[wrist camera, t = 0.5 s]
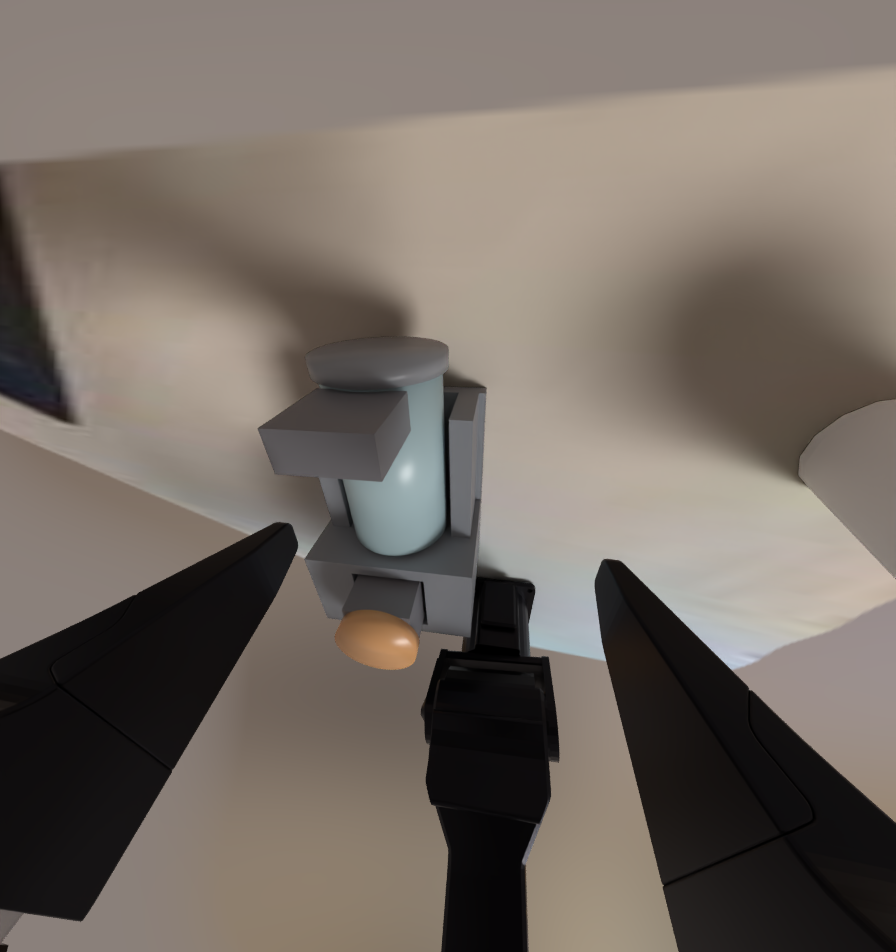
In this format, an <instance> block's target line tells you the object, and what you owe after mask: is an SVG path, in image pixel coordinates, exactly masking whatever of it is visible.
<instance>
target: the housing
mask: <svg viewBox="0 0 896 952" xmlns="http://www.w3.org/2000/svg"><path fill="white" fill-rule="evenodd" d="M486 389H487V388H472V387H443V395H444V429H445V463H446V498H447V526H446V529H445V531H444V533H443V534H442V536H441V537H440V538H439V539H438V540H437V541H436V542H435V543H434V544H432V545H431V546H429V547H428V548H426V549H424V550H421V551H419V552H416V553H412V554H408V555H402V556H388V555H382V554H378V553H375V552H373V551H371V550H369V549H367V548H366V547H365V546H363V545H362V544H361V542H360V541H359V540H358V538H357V535H356V531H355V527H354V523H353V519H352V515H351V511H350V507H349V503H348V499H347V495H346V491H345V487H344V483H343V479H334V478H321V477H319V480H320V483H321V487H322V490H323V493H324V497H325V500H326V503H327V507H328V510H329V513H330V517H331V521H330V522H329V524H328V525H327V527H326V528H325V530H324V531H323V533H322V534H321V535H320V537H319V538H318V540H317V541H316V543H315V544H314V546H313V547H312V549H311V550H310V552H309V553H308V555H307V556H306V558H305V559H304V560H305V562H306V565H307V567H308V570H309V572H310V575H311V578H312V580H313V583H314V585H315V588H316V590H317V592H318V595H319V598H320V600H321V602H322V605H323V607H324V610H325V613H326V615H327V617H328V618H332V619H339V620H342V619H343V617H344V616H343V613H342V608H343V606H344V604H345V602H346V600H347V598H348V595H349V593H350V591H351V589H352V587H353V585H354V583H355V581H356V579H357V576H358V574H361V575H370V576H378V577H387V578H396V579H404V580H413V581H422V582H424V592H425V602H426V611H425V615H424V620H423V624H422V628H421V631H426V632H433V633H441V634H448V635H455V636H463V637H470V635H471V624H472V614H473V604H474V593H475V583H476V573H477V562H478V552H479V536H480V515H481V494H482V473H483V452H484V431H485V410H486Z"/></svg>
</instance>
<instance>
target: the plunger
mask: <svg viewBox="0 0 896 952" xmlns="http://www.w3.org/2000/svg"><path fill="white" fill-rule="evenodd" d="M425 611H426V602H425V592H424V582H422V581H413V580H404V579H396V578H387V577H378V576H370V575H361V574H358V576H357V579H356V581H355V583H354V585H353V587H352V589H351V591H350V593H349V595H348V598H347V600H346V602H345V604H344V606H343V608H342V613H343V616H344V617H343V619H342V621H341V623H340V625H339V627H338V629H337V631H336V634H335V642H336V644H337V646H338V647H339V648H340V649H341V650H342V652H344V653H345V654H346V655H347V656H349V657H350V658H352V659H354V660H355V661H358V662H360V663H362V664H365V665H367V666H371V667H375V668H379V669H387V670H396V669H403V668H406V667H408V666H410V665H412V664H413V663H414V661H415V660H416V655H417V651H418V646H419V637H420V632H421V628H422V624H423V620H424V615H425Z"/></svg>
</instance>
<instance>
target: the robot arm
mask: <svg viewBox="0 0 896 952" xmlns="http://www.w3.org/2000/svg"><path fill="white" fill-rule="evenodd" d="M297 549H298V541H297V539H296V536H295V533H294V530H293V527H292V525H291V524H289V523H283V522H276V523H273V524H272V525H270V526H268V527H266V528H264V529H262V530H260V531H258V532H256V533H254V534H252V535H250V536H248V537H246V538H244V539H242V540H240V541H238V542H236V543H235V544H233V545H231V546H229V547H227V548H225V549H223V550H221V551H219V552H217V553H215V554H213V555H211V556H209V557H207V558H205V559H203V560H202V561H199V562H197V563H196V564H194V565H192V566H190V567H188V568H186V569H184V570H182V571H180V572H178V573H176V574H174V575H172V576H170V577H168V578H166V579H164V580H162V581H160V582H158V583H157V584H155V585H153V586H151V587H149V588H147V589H145V590H143V591H141V592H139V593H138V594H137V595H133V596H131V597H129V598H127V599H125V600H123V601H121V602H120V603H118V604H116V605H114V606H112V607H110V608H108V609H106V610H103V611H102V612H99V613H98V614H95V615H94V616H92V617H89V618H87V619H85V620H83V621H81V622H79V623H77V624H75V625H72V626H70V627H68V628H66V629H64V630H62V631H60V632H58V633H55V634H53V635H51V636H49V637H47V638H45V639H43V640H40V641H38V642H36V643H34V644H32V645H30V646H27V647H25V648H23V649H21V650H19V651H16V652H14V653H12V654H10V655H8V656H5V657H3V658H1V659H0V952H7V948H8V945H6V944H3V943H2V941H3V940H4V939H5V937H6V936H7V935H8V933H9V932H10V931H11V929H12V928H13V927H14V925H15V924H16V923H17V922H18V920H19V919H20V918H21V916H22V915H23V914H24V913H27V914H34V915H41V916H47V917H53V918H61V919H67V920H73V921H80V922H81V921H83V919H84V918H85V916H86V915H87V914H88V912H89V911H90V909H91V907H92V906H93V904H94V903H95V901H96V899H97V898H98V896H99V894H100V893H101V891H102V889H103V888H104V886H105V884H106V883H107V881H108V879H109V877H110V876H111V874H112V872H113V871H114V869H115V867H116V866H117V864H118V862H119V861H120V859H121V857H122V856H123V854H124V852H125V850H126V849H127V847H128V845H129V844H130V842H131V840H132V838H133V837H134V835H135V833H136V832H137V830H138V828H139V827H140V825H141V823H142V821H143V820H144V818H145V817H146V815H147V813H148V812H149V810H150V808H151V807H152V805H153V803H154V801H155V800H156V798H157V796H158V795H159V793H160V791H161V790H162V788H163V786H164V785H165V783H166V781H167V779H168V778H169V776H170V774H171V773H172V769H174V767H175V766H176V764H177V762H178V761H179V759H180V757H181V755H182V754H183V752H184V750H185V748H186V747H187V745H188V744H189V742H190V740H191V739H192V737H193V735H194V733H195V732H196V730H197V728H198V727H199V725H200V723H201V722H202V720H203V718H204V717H205V715H206V713H207V712H208V710H209V708H210V707H211V705H212V703H213V701H214V700H215V698H216V696H217V695H218V693H219V691H220V689H221V688H222V686H223V684H224V683H225V681H226V679H227V678H228V676H229V674H230V672H231V671H232V669H233V668H234V666H235V664H236V663H237V661H238V659H239V657H240V656H241V654H242V652H243V651H244V649H245V647H246V646H247V644H248V642H249V641H250V639H251V637H252V636H253V634H254V632H255V630H256V629H257V627H258V625H259V624H260V622H261V620H262V619H263V617H264V615H265V613H266V612H267V610H268V609H269V607H270V605H271V603H272V602H273V600H274V598H275V596H276V594H277V592H278V590H279V588H280V586H281V584H282V582H283V579H284V578H285V576H286V573H287V571H288V569H289V567H290V564H291V563H292V560H293V558H294V556H295V554H296V552H297ZM595 594H596V601H597V609H598V616H599V624H600V632H601V638H602V644H603V649H604V653H605V657H606V661H607V665H608V669H609V673H610V677H611V681H612V685H613V689H614V693H615V697H616V701H617V705H618V710H619V713H620V718H621V722H622V726H623V729H624V734H625V738H626V742H627V745H628V749H629V754H630V758H631V761H632V766H633V770H634V774H635V778H636V782H637V786H638V790H639V793H640V798H641V802H642V806H643V809H644V814H645V817H646V821H647V826H648V829H649V833H650V837H651V842H652V845H653V849H654V854H655V858H656V861H657V866H658V870H659V874H660V878H661V882H662V884H663V885H664V886H663V891H664V895H665V899H666V903H667V907H668V911H669V915H670V919H671V923H672V927H673V931H674V935H675V939H676V943H677V947H678V951H679V952H896V823H895V822H894V821H893V820H892V819H891V818H890V817H889V816H888V815H886V814H885V813H884V812H883V811H882V810H881V809H880V808H878V807H877V806H876V805H875V804H874V803H873V802H872V801H871V800H869V799H868V798H867V797H866V796H865V795H864V794H863V793H862V792H860V791H859V790H858V789H857V788H856V787H855V786H854V785H853V784H851V783H850V782H849V781H848V780H847V779H846V778H845V777H843V776H842V775H841V774H840V773H839V772H838V771H837V770H836V769H835V768H834V767H833V766H831V765H830V764H829V763H828V762H827V761H826V760H825V759H824V758H823V757H822V756H820V755H819V754H818V753H817V752H816V751H815V750H813V748H812V747H811V746H809V745H808V744H807V743H806V742H805V741H804V740H803V739H802V738H801V737H800V736H799V735H798V734H797V733H796V732H794V731H793V730H792V729H791V728H790V727H789V726H788V725H787V724H786V723H785V722H784V721H783V720H782V719H781V718H780V717H779V716H778V715H777V714H776V713H775V712H773V710H772V709H771V708H770V707H768V706H767V705H766V704H765V703H764V702H763V701H762V700H761V699H760V698H759V697H758V696H757V695H756V694H755V693H754V692H753V691H752V690H749V688H748V686H747V685H746V684H745V683H744V682H743V681H742V680H741V679H740V678H739V677H738V676H737V675H736V674H735V673H734V672H733V671H732V670H731V669H730V668H729V667H728V666H727V665H726V664H725V663H724V662H723V661H722V660H721V659H720V658H719V657H718V656H717V655H716V654H715V653H714V652H713V651H712V650H711V649H710V648H709V647H708V646H707V645H706V644H705V643H704V642H703V641H702V640H700V639H699V638H698V637H697V636H696V635H695V634H694V633H693V632H692V631H691V630H690V629H689V628H688V627H687V626H686V625H685V624H684V623H683V622H682V621H681V620H680V619H679V618H678V617H677V616H676V615H675V614H674V613H673V612H672V611H671V610H670V609H669V608H668V607H667V606H666V605H665V604H664V603H663V602H662V601H661V600H660V599H659V598H658V597H657V596H656V595H655V594H654V593H653V592H652V591H651V590H650V589H649V588H648V587H647V586H646V585H645V584H644V583H643V582H642V581H641V580H640V579H639V578H638V577H637V576H636V575H635V574H634V573H633V572H632V571H631V570H630V569H629V568H628V567H627V566H626V565H625V564H624V563H622V562H621V561H619V560H613V559H604V560H603V561H602V562H601V565H600V567H599V570H598V573H597V576H596V578H595ZM534 596H535V586H534V585H533V584H528V583H519V582H510V581H501V580H492V579H483V578H476V583H475V593H474V604H473V614H472V624H471V635H470V637H463V644H462V652H461V651H448V650H447V649H441V651H440V655H439V658H437V661H436V665H435V668H434V671H433V675H432V678H431V682H430V685H429V689H428V692H427V696H426V699H425V701H424V703H423V705H422V708H421V716H422V718H423V720H424V722H425V740H426V743H427V744H429V745H430V748H429V759H428V760H429V761H428V766H427V774H426V786H427V790H428V795H429V799H430V802H431V805H434V806H436V809H437V813H438V816H439V820H440V823H441V826H442V830H443V833H444V836H445V840H446V843H447V846H448V869H447V883H446V896H445V909H444V923H443V936H442V951H441V952H528V920H527V890H526V862H527V859H528V856H529V854H530V851H531V849H532V846H533V843H534V841H535V838H536V836H537V833H538V830H539V828H540V825H541V823H542V820H543V817H544V815H545V812H546V809H547V807H548V804H549V802H550V797H551V786H550V771H549V761H551V762H558V763H559V737H558V725H557V715H556V707H555V699H554V692H553V685H552V678H551V671H550V663H549V657H545V656H542V657H541V658H540V657H530V642H529V626H528V624H529V619H530V614H531V610H532V605H533V600H534Z"/></svg>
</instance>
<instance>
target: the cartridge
mask: <svg viewBox="0 0 896 952" xmlns="http://www.w3.org/2000/svg"><path fill="white" fill-rule="evenodd" d="M305 360H306V364H307V368H308V371H309V375H310V378H311V379H312V380H313V381H314V382H316V383H318V384H319V387H320V388H317V389H315V390H314V391H312V392H311V393H309V394H308V395H306V396H305V397H303V398H302V399H300V400H299V401H298V402H296V403H295V404H293V405H292V406H290V407H289V408H287V409H286V410H284V411H283V412H281V413H280V414H278V415H277V416H275V417H274V418H272V419H271V420H269V421H268V422H266V423H265V424H263V425H262V426H260V427H259V428H258V431H259V434H260V436H261V439H262V441H263V444H264V446H265V449H266V452H267V454H268V457H269V459H270V462H271V464H272V467H273V470H274V472H275V474H279V475H293V476H307V477H321V478H334V479H343V483H344V487H345V491H346V495H347V499H348V503H349V507H350V511H351V515H352V519H353V523H354V527H355V531H356V535H357V538H358V540H359V541H360V542H361V544H362V545H363V546H365V547H366V548H367V549H369V550H371V551H373V552H375V553H378V554H382V555H388V556H402V555H408V554H412V553H416V552H419V551H421V550H424V549H426V548H428V547H429V546H431V545H432V544H434V543H435V542H436V541H437V540H438V539H439V538H440V537H441V536H442V534H443V533H444V531H445V529H446V526H447V498H446V463H445V429H444V395H443V373H445V372H446V371H447V370H448V367H449V349H448V346H447V345H446V344H444V343H442V342H440V341H436V340H432V339H426V338H418V337H372V338H361V339H353V340H347V341H341V342H336V343H332V344H328V345H324V346H321V347H318V348H316V349H314V350H312V351H310V352H309V353H307V354H306V356H305Z"/></svg>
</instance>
